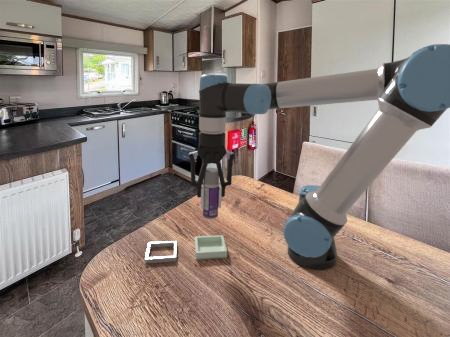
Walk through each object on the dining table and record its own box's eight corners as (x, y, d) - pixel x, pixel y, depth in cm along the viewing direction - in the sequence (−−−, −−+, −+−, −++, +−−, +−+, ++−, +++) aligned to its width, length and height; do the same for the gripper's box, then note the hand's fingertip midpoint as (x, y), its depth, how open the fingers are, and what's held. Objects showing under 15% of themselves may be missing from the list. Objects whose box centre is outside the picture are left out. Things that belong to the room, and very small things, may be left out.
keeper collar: (176, 244, 94) (176, 240, 94) (176, 261, 86) (176, 257, 85) (148, 246, 93) (148, 242, 92) (145, 263, 84) (144, 259, 84)
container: (218, 212, 90) (220, 168, 86) (216, 219, 86) (218, 172, 81) (204, 211, 91) (204, 167, 86) (201, 218, 86) (202, 171, 82)
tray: (222, 241, 97) (222, 235, 96) (226, 258, 88) (227, 251, 87) (194, 243, 96) (194, 236, 95) (196, 260, 87) (196, 252, 86)
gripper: (240, 129, 85) (236, 200, 92) (180, 129, 83) (181, 202, 90) (245, 134, 78) (241, 210, 85) (180, 133, 76) (181, 212, 82)
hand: (210, 206), depth 87 cm, fingers closed on container, 5 cm apart
